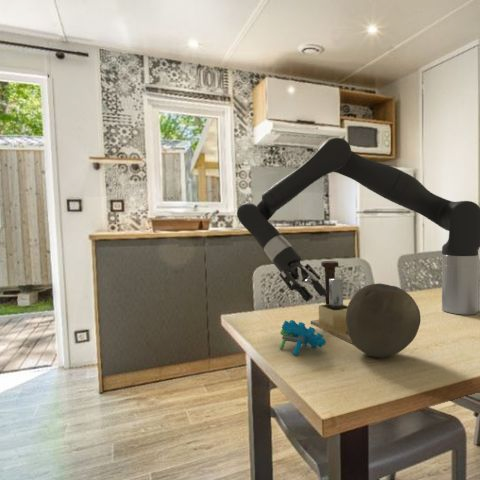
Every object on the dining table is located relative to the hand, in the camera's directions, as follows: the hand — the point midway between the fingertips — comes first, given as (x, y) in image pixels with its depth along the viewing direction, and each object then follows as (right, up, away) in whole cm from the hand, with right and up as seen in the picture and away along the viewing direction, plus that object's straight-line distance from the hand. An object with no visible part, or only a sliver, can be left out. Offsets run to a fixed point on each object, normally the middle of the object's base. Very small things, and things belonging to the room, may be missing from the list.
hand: (317, 296), depth 97 cm
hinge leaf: (+7, -8, -6) cm, 12 cm away
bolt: (+9, -7, +19) cm, 21 cm away
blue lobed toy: (-8, -9, -20) cm, 23 cm away
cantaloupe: (+8, -9, -24) cm, 27 cm away
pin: (+5, -7, -3) cm, 9 cm away
